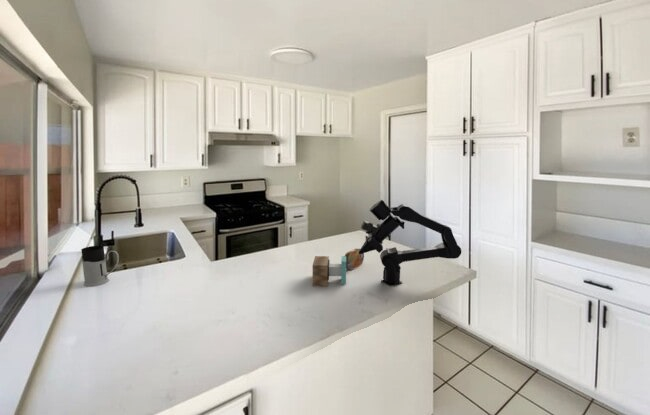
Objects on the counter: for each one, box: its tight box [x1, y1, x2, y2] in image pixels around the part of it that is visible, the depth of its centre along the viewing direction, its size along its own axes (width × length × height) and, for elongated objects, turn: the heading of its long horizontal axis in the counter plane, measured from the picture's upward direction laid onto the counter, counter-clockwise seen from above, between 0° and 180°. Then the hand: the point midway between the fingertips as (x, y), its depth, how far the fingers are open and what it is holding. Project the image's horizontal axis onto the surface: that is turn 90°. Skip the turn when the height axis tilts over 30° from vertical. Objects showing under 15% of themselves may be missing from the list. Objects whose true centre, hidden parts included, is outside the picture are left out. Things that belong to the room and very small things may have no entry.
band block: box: [312, 255, 331, 288], centre depth 137 cm, size 6×12×9 cm, turn 177°
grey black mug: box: [80, 245, 120, 288], centre depth 134 cm, size 9×14×15 cm, turn 94°
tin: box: [344, 248, 365, 271], centre depth 155 cm, size 15×3×8 cm, turn 143°
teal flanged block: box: [329, 255, 347, 285], centre depth 137 cm, size 9×7×10 cm
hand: (359, 253), depth 135 cm, fingers closed
